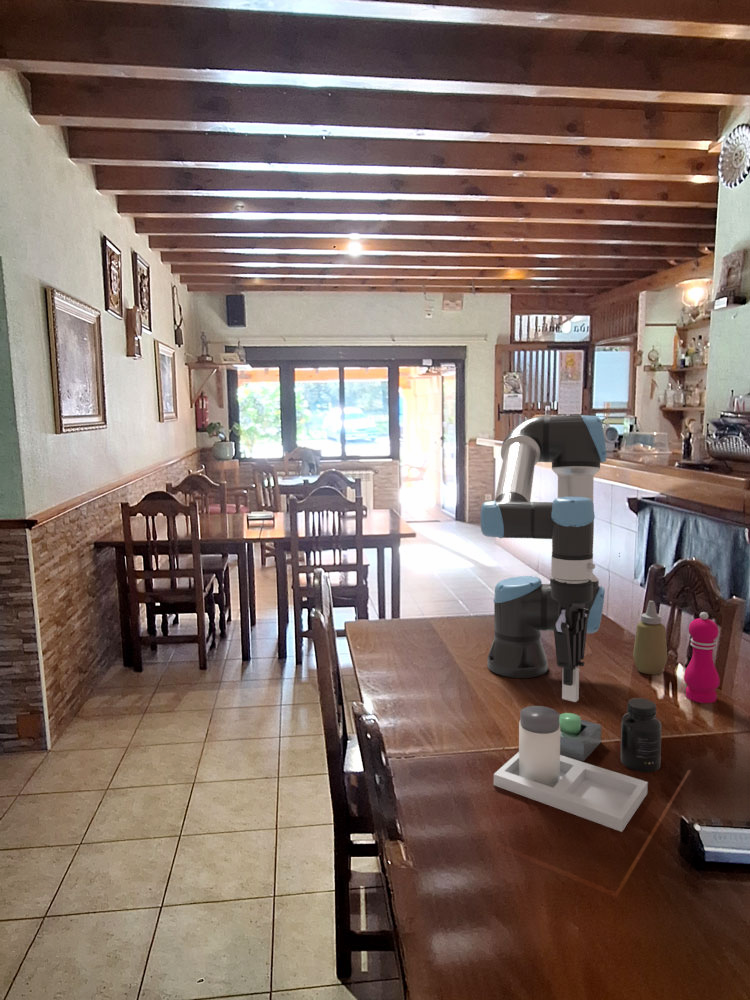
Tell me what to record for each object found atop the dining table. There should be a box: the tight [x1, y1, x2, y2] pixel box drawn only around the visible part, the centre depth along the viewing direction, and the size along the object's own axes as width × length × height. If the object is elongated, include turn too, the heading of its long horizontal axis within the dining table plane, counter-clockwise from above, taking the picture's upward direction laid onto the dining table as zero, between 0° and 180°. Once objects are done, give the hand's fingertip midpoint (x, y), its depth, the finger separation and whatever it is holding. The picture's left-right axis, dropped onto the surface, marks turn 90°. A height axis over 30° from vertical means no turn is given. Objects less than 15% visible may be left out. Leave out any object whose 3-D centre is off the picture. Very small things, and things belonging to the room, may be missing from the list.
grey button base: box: [559, 713, 602, 762], centre depth 128 cm, size 9×9×4 cm
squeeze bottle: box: [632, 600, 669, 675], centre depth 164 cm, size 8×8×18 cm
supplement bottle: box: [620, 697, 662, 773], centre depth 120 cm, size 7×7×12 cm
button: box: [559, 712, 582, 736], centre depth 127 cm, size 4×4×3 cm
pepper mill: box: [683, 611, 721, 704], centre depth 148 cm, size 7×7×20 cm
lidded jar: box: [518, 705, 561, 788], centre depth 115 cm, size 7×7×12 cm
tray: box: [493, 751, 649, 833], centre depth 112 cm, size 22×13×2 cm, turn 52°
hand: (570, 699), depth 126 cm, fingers closed
